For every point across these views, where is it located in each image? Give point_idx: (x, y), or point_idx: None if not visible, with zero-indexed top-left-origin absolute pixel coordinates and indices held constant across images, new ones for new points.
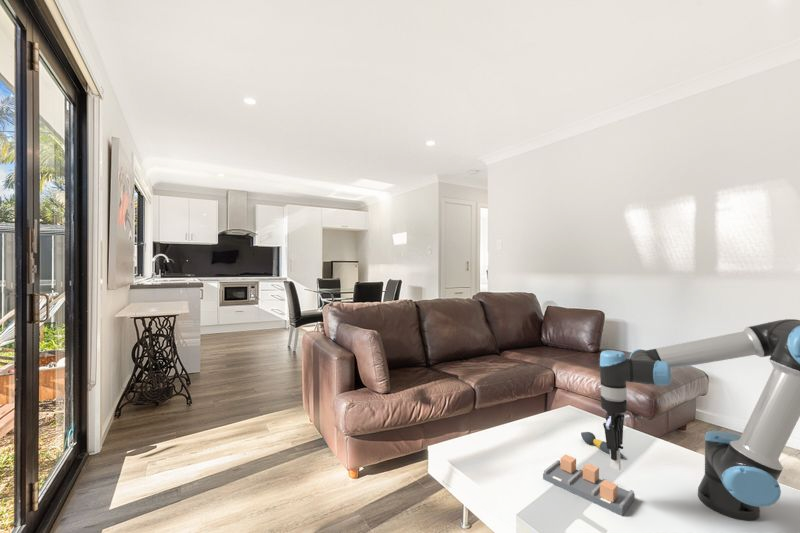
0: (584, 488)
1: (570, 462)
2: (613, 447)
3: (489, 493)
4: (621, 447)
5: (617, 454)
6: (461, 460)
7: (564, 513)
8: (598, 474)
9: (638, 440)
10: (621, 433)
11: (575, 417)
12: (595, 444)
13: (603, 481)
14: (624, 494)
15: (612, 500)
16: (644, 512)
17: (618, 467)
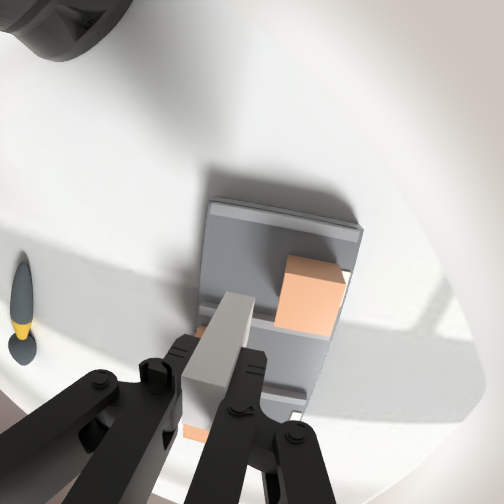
0: (299, 357)
1: None
2: (320, 463)
3: (409, 469)
4: (165, 378)
5: (234, 370)
6: None
7: (429, 363)
8: (199, 337)
9: None
10: (46, 446)
11: None
12: (28, 331)
13: (296, 328)
14: (242, 232)
15: (339, 268)
16: (281, 156)
17: (251, 309)
